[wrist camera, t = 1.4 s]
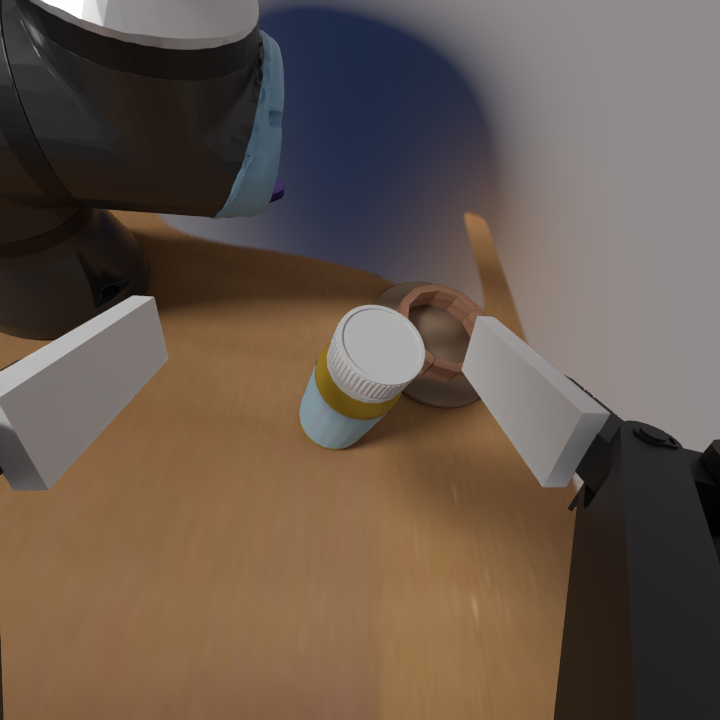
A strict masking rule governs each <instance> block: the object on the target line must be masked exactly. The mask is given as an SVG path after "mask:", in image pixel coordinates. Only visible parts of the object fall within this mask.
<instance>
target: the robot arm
mask: <svg viewBox="0 0 720 720" xmlns="http://www.w3.org/2000/svg"><path fill="white" fill-rule="evenodd" d="M283 104H284V75H283V64H282V57H281V52H280V49H279V46H278V44H277V43H276V42H275V40H274V39H272V38H271V37H268V35H267V34H266V33H265V32H264V31H260V30H259V11H258V0H0V332H2V333H5V334H8V335H11V336H16V337H20V338H27V339H42V340H44V339H56V340H55V341H53V342H51V343H49V344H48V345H46V346H44V347H43V348H41V349H39V350H37V351H36V352H34V353H32V354H30V355H29V356H27V357H25V358H23V359H20V360H17V361H16V362H14V363H12V364H10V365H9V366H7V367H5V368H3V369H2V370H0V475H1V474H2V473H3V475H4V476H5V478H6V479H7V481H8V482H9V484H10V485H11V487H12V488H13V490H49V489H50V488H51V487H52V486H53V485H54V484H55V483H56V482H57V481H58V479H59V478H60V477H61V476H62V475H63V474H64V473H65V472H66V471H67V470H68V468H69V467H70V466H71V465H72V464H73V463H74V462H75V461H76V460H77V459H78V458H79V456H80V455H81V454H82V453H83V452H84V451H85V450H86V449H87V448H88V447H89V446H90V444H91V443H92V442H93V441H94V440H95V439H96V438H97V437H98V436H99V435H100V433H101V432H102V431H103V430H104V429H105V428H106V427H107V426H108V425H109V424H110V423H111V421H112V420H113V419H114V418H115V417H116V416H117V415H118V414H119V413H120V412H121V411H122V409H123V408H124V407H125V406H126V405H127V404H128V403H129V402H130V401H131V400H132V398H133V397H134V396H135V395H136V394H137V393H138V392H139V391H140V390H141V389H142V388H143V386H144V385H145V384H146V383H147V382H148V381H149V380H150V379H151V378H152V377H153V376H154V374H155V373H156V372H157V371H158V370H159V369H160V368H161V367H162V366H163V365H164V363H165V362H166V361H167V360H168V359H169V358H168V354H167V350H166V345H165V341H164V337H163V332H162V328H161V324H160V319H159V315H158V311H157V306H156V302H155V298H154V297H150V296H143V294H144V292H145V290H146V288H147V285H148V281H149V266H148V262H147V260H146V257H145V255H144V253H143V251H142V249H141V246H140V244H139V243H138V241H137V240H136V238H135V237H134V235H133V234H132V233H131V232H130V231H129V230H128V229H127V228H126V227H125V226H124V225H123V224H122V223H121V222H120V221H119V220H118V219H117V218H116V217H115V216H114V215H113V214H112V213H111V212H110V211H109V210H121V211H135V212H148V213H161V214H176V215H188V216H202V217H211V218H212V219H215V218H217V219H219V218H222V217H251V216H255V215H257V214H259V213H261V212H262V211H263V210H265V208H266V207H267V205H268V204H269V202H270V200H271V197H272V194H273V190H274V187H275V182H276V177H277V172H278V165H279V157H280V150H281V138H282V130H281V124H280V123H281V121H282V113H283ZM462 372H463V373H464V375H465V376H466V377H467V379H468V380H469V382H470V383H471V385H472V386H473V387H474V389H475V390H476V392H477V393H478V395H479V396H480V398H481V399H482V400H483V402H484V403H485V405H486V406H487V408H488V409H489V411H490V412H491V413H492V415H493V416H494V418H495V419H496V421H497V422H498V424H499V425H500V426H501V428H502V429H503V431H504V432H505V434H506V435H507V437H508V438H509V439H510V441H511V442H512V444H513V445H514V447H515V448H516V450H517V451H518V452H519V454H520V455H521V457H522V458H523V460H524V461H525V463H526V464H527V465H528V467H529V468H530V470H531V471H532V473H533V474H534V476H535V477H536V478H537V480H538V481H539V483H540V484H541V486H542V487H567V485H568V484H569V482H570V480H571V479H572V477H573V475H574V474H575V472H576V473H577V474H578V475H579V476H580V478H581V479H582V480H583V481H584V483H583V485H582V487H581V488H580V490H579V491H578V493H577V495H576V496H575V498H574V499H573V501H572V502H571V504H570V506H569V508H568V509H569V510H571V511H572V510H573V509H574V507H577V511H576V520H575V529H574V538H573V548H572V557H571V566H570V575H569V584H568V593H567V602H566V612H565V621H564V630H563V639H562V648H561V657H560V666H559V676H558V685H557V694H556V703H555V712H554V720H720V439H719V440H714V441H713V442H712V443H711V444H710V445H709V447H708V448H707V449H706V450H705V451H704V453H701V452H697V451H693V450H688V449H684V448H683V447H682V446H681V444H680V443H679V442H678V441H677V440H676V439H674V438H673V437H672V436H670V435H669V434H667V433H665V432H664V431H662V430H660V429H658V428H655V427H653V426H651V425H648V424H645V423H641V422H638V421H625V422H624V421H623V420H622V419H621V418H619V417H618V416H617V415H615V414H614V413H613V412H612V411H611V410H610V409H608V408H607V407H606V406H605V405H603V404H602V403H601V402H600V401H599V400H597V399H596V398H593V396H592V395H591V394H590V393H589V392H588V391H586V390H584V388H583V387H581V386H580V385H579V384H578V383H576V382H575V381H574V380H573V379H571V378H569V377H567V376H566V375H564V374H562V373H561V372H560V371H559V370H557V369H556V368H555V367H554V366H553V365H551V364H550V363H549V362H548V361H546V360H545V359H544V358H543V357H542V356H540V355H539V354H538V353H537V352H536V351H534V350H533V349H532V348H531V347H530V346H528V345H527V344H526V343H525V342H524V341H522V340H521V339H520V338H519V337H518V336H516V335H515V334H514V333H513V332H512V331H510V330H509V329H508V328H507V327H506V326H504V325H503V324H502V323H501V322H499V321H498V320H497V319H496V318H495V317H489V316H477V318H476V321H475V325H474V328H473V332H472V335H471V339H470V342H469V346H468V349H467V353H466V356H465V360H464V363H463V367H462ZM0 720H3V694H2V667H1V639H0Z"/></svg>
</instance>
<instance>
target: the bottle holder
mask: <svg viewBox="0 0 720 720" xmlns="http://www.w3.org/2000/svg"><path fill="white" fill-rule="evenodd" d="M374 305H379V306H384V307H387V308H390V309H392V310H395V311H397V312H398V313H400V314H402V315H403V316H404V317H406V318H407V319H408V320H409V321H410V322H411V323H412V324H413V325H414V326H415V328H416V329H417V330H418V332H419V334H420V336H421V338H422V340H423V343H424V348H425V359H424V363H423V366H422V368H421V371H420V372H419V373H418V375H417V376H416V377H415V378H414V379H413V380H412V381H411V382H410V383H409V384H408V385H407V386H406V387H405V388H404V389H403V390H402V394H404V395H406V396H407V397H409V398H410V399H413V400H415V401H417V402H419V403H422V404H425V405H428V406H432V407H438V408H455V407H460V406H464V405H466V404H469V403H471V402H473V401H475V400H476V399H478V398H479V397H480V396H479V395H478V393H477V392H476V390H475V389H474V387H473V386H472V385H471V383H470V382H469V380H468V379H467V377H466V376H465V375H464V373H463V372H462V367H463V363H464V360H465V356H466V353H467V349H468V346H469V342H470V339H471V335H472V332H473V328H474V325H475V321H476V318H477V316H485V315H484V313H483V311H482V310H481V308H478V307H479V306H478V305H477V304H475V303H474V302H473V301H472V300H471V299H469V298H468V297H467V296H466V295H464V294H463V293H462V292H460V293H459V291H458V290H455V289H452V288H448V287H446V286H443V285H439V284H438V285H437V284H432V283H427V282H406V283H402V284H398V285H396V286H393V287H391V288H389V289H388V290H386V291H385V292H384V293H382V294H381V296H380V297H379V298H378V299H377V300H376V302H375V303H374Z"/></svg>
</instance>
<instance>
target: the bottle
mask: <svg viewBox="0 0 720 720" xmlns="http://www.w3.org/2000/svg"><path fill="white" fill-rule="evenodd" d="M424 359H425V348H424V343H423V340H422V338H421V336H420V334H419V332H418V330H417V329H416V328H415V326H414V325H413V324H412V323H411V322H410V321H409V320H408V319H407V318H406V317H404V316H403V315H402V314H400V313H398V312H397V311H395V310H392V309H390V308H387V307H384V306H379V305H364V306H360V307H357V308H354V309H353V310H351V311H349V312H348V313H347V314H346V315H345V316H344V317H343V318H342V320H340V323H339V324H338V326H337V329H336V331H335V334H334V336H333V338H332V341H331V343H329V344H328V345H327V346H326V347H325V348H324V349H323V351H322V353H321V354H320V356H319V358H318V360H317V362H316V365H315V367H314V370H313V373H312V375H311V378H310V380H309V383H308V386H307V388H306V391H305V393H304V396H303V399H302V401H301V404H300V409H299V422H300V426H301V428H302V430H303V432H304V434H305V436H306V437H307V438H308V439H309V440H310V441H311V442H312V443H314V444H315V445H317V446H319V447H321V448H324V449H329V450H339V449H344V448H347V447H349V446H350V445H352V444H354V443H355V442H357V441H358V440H359V439H360V438H361V437H362V436H363V435H364V434H365V433H366V432H367V431H369V430H370V429H371V428H372V427H373V426H374V425H375V424H376V423H377V422H378V421H379V420H380V419H381V418H383V417H384V416H385V415H386V414H387V413H388V412H389V411H390V410H391V409H392V408H393V406H394V405H395V404H396V403H397V402H398V400H399V398H400V396H401V393H402V390H403V389H404V388H405V387H406V386H407V385H408V384H409V383H410V382H411V381H412V380H413V379H414V378H415V377H416V376H417V375H418V373H419V372H420V371H421V368H422V366H423V363H424Z"/></svg>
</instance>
